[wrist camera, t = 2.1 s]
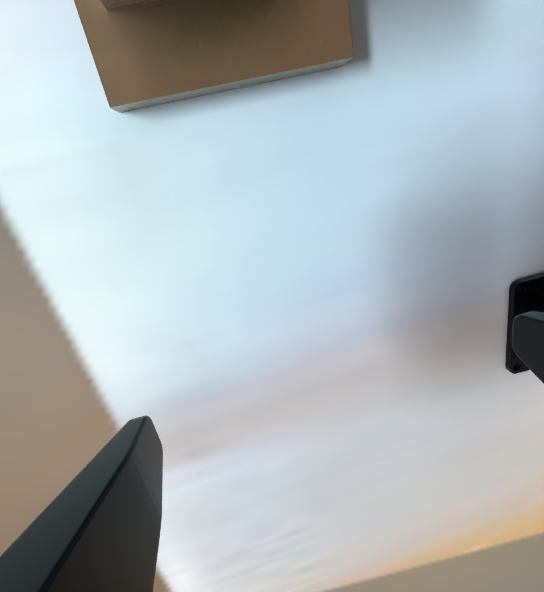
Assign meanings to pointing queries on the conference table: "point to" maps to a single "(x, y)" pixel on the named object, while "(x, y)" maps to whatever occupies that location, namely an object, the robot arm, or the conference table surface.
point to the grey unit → (209, 45)
